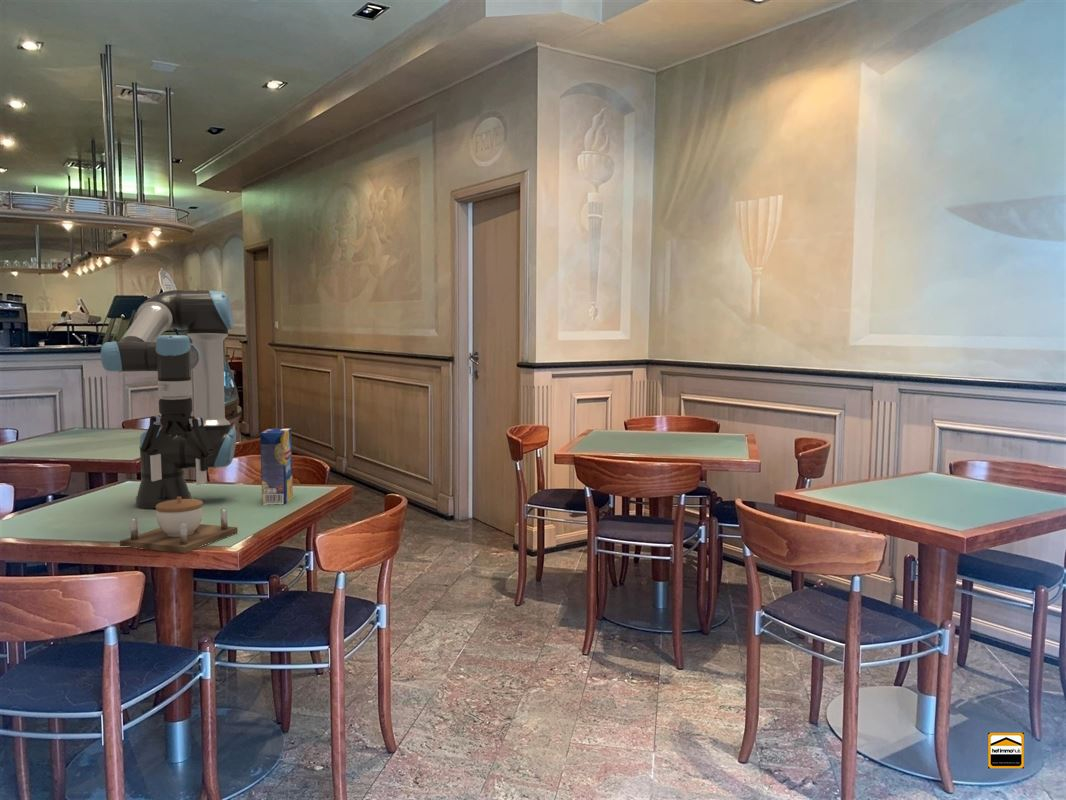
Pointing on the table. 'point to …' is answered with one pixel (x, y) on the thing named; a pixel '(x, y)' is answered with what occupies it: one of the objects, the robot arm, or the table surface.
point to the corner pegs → (182, 527)
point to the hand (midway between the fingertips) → (178, 482)
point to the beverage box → (276, 466)
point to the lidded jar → (179, 515)
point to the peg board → (178, 539)
